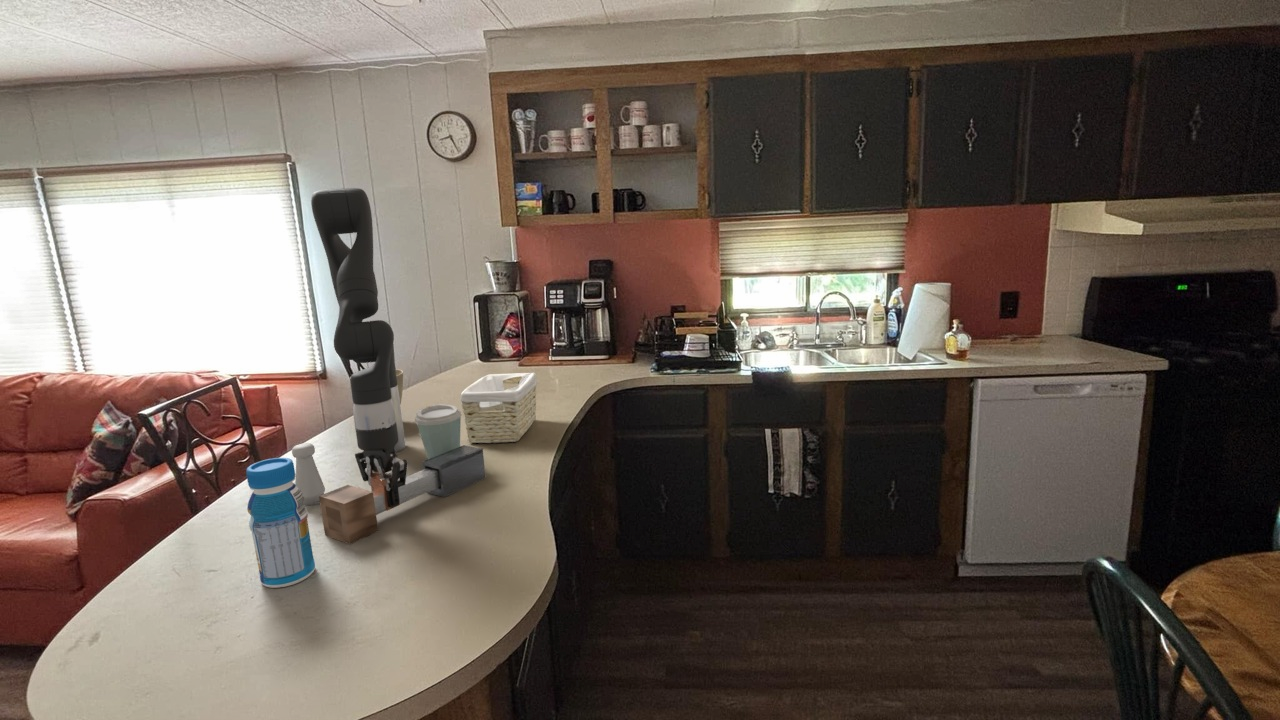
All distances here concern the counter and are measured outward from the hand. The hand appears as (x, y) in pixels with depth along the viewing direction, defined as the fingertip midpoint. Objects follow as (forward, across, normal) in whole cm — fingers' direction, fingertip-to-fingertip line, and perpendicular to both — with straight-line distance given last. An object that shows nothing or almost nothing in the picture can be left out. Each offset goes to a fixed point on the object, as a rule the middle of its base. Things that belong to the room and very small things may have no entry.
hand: (386, 503), depth 129 cm
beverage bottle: (+3, +5, -23) cm, 24 cm away
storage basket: (+3, -18, +52) cm, 55 cm away
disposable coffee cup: (+3, -11, +24) cm, 26 cm away
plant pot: (+3, -58, +41) cm, 71 cm away
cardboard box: (+3, 0, -8) cm, 9 cm away
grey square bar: (+1, 0, +5) cm, 5 cm away
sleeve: (+3, 0, +18) cm, 18 cm away
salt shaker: (+3, -22, -3) cm, 22 cm away
